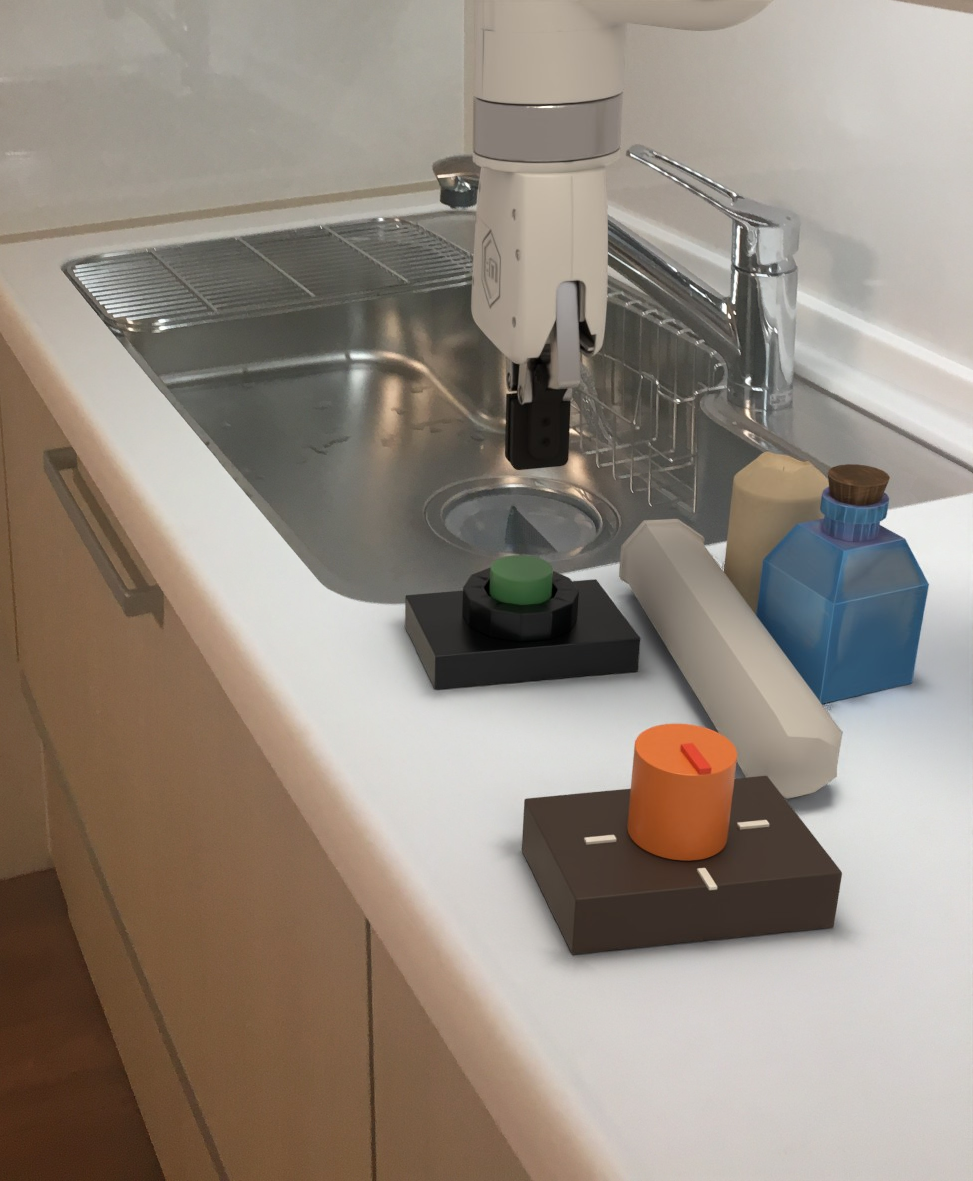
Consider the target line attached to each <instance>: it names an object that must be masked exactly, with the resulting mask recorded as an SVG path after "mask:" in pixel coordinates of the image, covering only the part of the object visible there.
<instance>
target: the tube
mask: <svg viewBox="0 0 973 1181" xmlns="http://www.w3.org/2000/svg"><path fill="white" fill-rule="evenodd" d="M619 556H620V557H619V558H620V559H619V569H618V570H619V571H618V577H619V579H620V580H621V581H622V582H624V583H625V584H627V585H628V586H629V588H630V590H631V591H632V592H633V594H634V596H635V597H636V599H637V601H638V602H639V604H640V606H641V607H642V609H643V610H644V612H645V614H646V615H647V618H648V619H649V620H650V623H651V624H652V626H653V627H654V629H655V630H656V633H657V634H658V635H659V637H660V638H661V640H662V642H663V643H664V646H666V649H667V650H668V652H669V654H670V655H671V656H672V658H673V660H674V661H675V663H676V665H677V667H678V668H679V670H680V671H681V674H682V675H683V676H684V679H685V680H686V681H687V683H688V684H689V686H690V689H691V690H692V691H693V693H694V694H695V696H696V697H697V699H698V701H699V703H700V704H701V706H702V708H703V709H704V711H705V712H706V714H707V716H708V717H709V719H710V720H711V722H712V724H713V725H714V727H715V728H716V730H717V732H718V733H719V734H721V735H723V736H725V737H726V738H727V739H729V740H730V741H731V742H732V743H733V745H734V746H735V748H736V750H737V763H736V764H737V765H738V766H739V768H740V770H741V772H742V773H743V775H744V776H745V778H746V777H757V776H768V778H769V779H770V780H771V781H772V783H773V784H774V785H775V787H776V788H777V789H778V790H779V792H780V793H781V794H782V796H783V797H784V798H785V799H792V798H797V797H801V796H807V795H810V794H814V793H815V792H817V791H819V790H820V789H822V787H824V786H825V785H827V784H829V783H830V782H832V780H834V779H836V778H837V776H838V763H839V757H840V752H841V744H842V738H843V733H844V732H843V730H842V729H841V728H840V726H839V725H838V724H837V723H836V721H835V720H834V718H833V717H832V715H830V713H829V712H828V710H827V708H825V706H824V705H823V704H821V702H820V701H819V700H818V698H817V697H816V696H815V694H814V693H813V692H812V690H811V689H810V688H809V686H808V685H807V683H806V682H805V681H804V679H803V678H802V677H801V675H800V674H799V673H798V671H797V670H796V669H795V667H794V666H793V665H792V663H791V662H790V661H789V659H788V658H787V657H786V655H785V654H784V652H783V651H782V650H781V648H780V647H779V646H778V644H777V643H776V642H775V640H774V639H773V638H772V636H771V635H770V634H769V632H768V631H767V630H766V628H765V627H764V625H763V624H762V623H761V621H760V620H759V619H758V617H757V616H756V615H755V613H754V612H753V611H752V609H751V608H750V607H749V605H748V604H747V603H746V601H745V600H744V598H743V597H742V596H741V594H740V593H739V592H738V590H737V589H736V588H735V586H734V585H733V584H732V582H731V581H730V580H729V578H728V577H727V576H726V574H725V573H724V569H723V568H721V565H720V564H719V563H718V562H717V561H716V560H715V558H714V557H713V555H712V554H711V552H710V551H709V550H708V548H707V547H706V546H705V537H704V536H703V535H702V534H700V533H699V532H698V531H696V530H695V529H694V528H692V527H691V526H689V525H688V524H686V523H684V522H683V521H682V520H680V519H678V518H668V519H667V518H665V519H644V520H642V522H641V523H640V524H639V525H638V527H636V529H635V530H634V531H633V532H632V533H631V534H630V535H629V537H627V539H626V540H625V541H624V542H623V544H622V545H621V546H620V555H619Z"/></svg>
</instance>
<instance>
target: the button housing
mask: <svg viewBox="0 0 973 1181" xmlns="http://www.w3.org/2000/svg"><path fill="white" fill-rule="evenodd" d="M489 590H490V567H488V568H485V569H483V570H480V571H478V572H474V573H473V574H471V575H470V576H469V577H468V579H467V581H466V582H465V584H464V585H463V587H462V590H452V591H441V592H439V591H438V592H429V593H416V594H406V595H405V597H404V598H405V600H404V602H405V604H404V605H405V606H404V628H405V629H406V632H407V633H408V635H409V638H410V640H411V642H412V644H413V646H414V648H415V650H416V652H417V654H418V657H419V658H420V661H421V662H422V665H423V667H424V670H425V672H426V673H427V675H428V677H429V680H430V682H431V684H432V687H433V689H434V690H442V689H452V688H466V687H477V686H486V685H497V684H499V685H500V684H510V683H520V682H531V681H542V680H554V679H564V678H576V677H586V676H587V677H588V676H599V675H610V674H623V673H632V672H638V671H639V661H640V660H639V659H640V649H641V637H640V635H639V634H638V633H637V631H636V630H635V629H634V627H633V626H632V625H631V624H630V622H629V621H628V620H627V618H626V617H625V616H624V614H623V613H622V611H621V610H620V609H619V608H618V606H617V605H616V603H615V602H614V601H613V600H612V598H611V597H610V596H609V595H608V593H607V592H606V590H605V589H604V587H603V586H602V585H601V584H600V582H599V581H598V580H597V579H595V578H594V579H583V580H572V579H571V578H570V577H569V576H566V575H564V574H561V573H559V572H557V571H556V570H553V580H552V596H551V598H550V599H549V600H547V601H545V602H542V603H539V604H527V605H518V604H512V603H505V602H501V601H499V600H496V599H494V598H492V597H491V596H490V593H489Z"/></svg>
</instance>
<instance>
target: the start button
mask: <svg viewBox="0 0 973 1181" xmlns="http://www.w3.org/2000/svg"><path fill="white" fill-rule="evenodd" d="M489 568H490V590H489V593H490V596H491V597H492V598H494V599H496V600H499V601H501V602H505V603H512V604H518V605H527V604H539V603H542V602H545V601H547V600H549V599H550V598H551V596H552V580H553V571H554V567H553V565H552V564H551V563H550V562H548V561H547V560H545V559H543V558H540V557H537V556H532V555H525V554H524V555H523V554H514V555H506V556H502V557H499V558H497V559H495V560H493V562H492V563H491V564H490V567H489Z"/></svg>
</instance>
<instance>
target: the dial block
mask: <svg viewBox="0 0 973 1181" xmlns="http://www.w3.org/2000/svg"><path fill="white" fill-rule="evenodd" d="M630 792H631V788H621V789H612V790H611V789H610V790H601V791H590V792H581V793H580V792H579V793H570V794H560V795H559V794H558V795H548V796H540V797H539V796H538V797H528V798H524V800H523V815H522V816H523V817H522V818H523V819H522V834H521V835H522V837H521V838H522V839H521V851H522V853H523V856H524V857H525V858H524V859H525V860H526V862H527V865H529V868H530V870H531V872H532V875H533V876H534V878H535V880H536V883H537V884H538V886H539V889H540V891H541V893H542V895H543V897H544V899H545V901H546V903H547V905H548V907H549V909H550V911H551V913H552V915H553V917H554V920H555V922H556V924H557V926H558V928H559V931H560V932H561V935H562V936H563V939H564V940H565V942H566V944H567V946H568V949H569V951H570V953H571V954H572V955H579V954H587V953H597V952H607V951H617V950H627V949H637V948H645V947H655V946H665V945H674V944H685V943H693V942H704V941H713V940H723V939H732V938H741V937H751V936H760V935H769V934H779V933H788V932H797V931H798V932H799V931H808V930H818V929H827V928H834V926H835V920H836V915H837V908H838V902H839V896H840V890H841V883H842V879H843V878H842V877H843V871H842V870H841V869H840V867H839V866H838V865H837V864H836V862H835V861H834V860H833V859H832V857H831V856H830V854H829V853H828V852H827V851H826V849H825V848H824V847H823V846H822V845H821V843H820V842H819V841H818V840H817V838H816V837H815V835H814V834H813V833H812V832H811V830H810V829H809V828H808V826H807V825H806V824H805V823H804V821H803V820H802V818H800V816H799V815H798V814H797V812H796V811H795V810H794V809H793V807H792V806H791V804H790V803H789V802H788V801H787V800H786V799H787V798H784V797H783V796H782V794H781V793H780V792H779V790H778V789H777V788H776V787H775V785H774V784H773V783H772V781H771V780H770V779H769V778H768V776H757V777H746V776H745V777H738V778H737V777H735V779H734V788H733V796H732V804H731V812H730V821H729V829H728V837H727V843H726V845H725V846H724V848H723V849H722V850H721V851H720V852H719V853H717V854H715V855H713V856H711V857H708V858H705V859H700V860H692V861H681V860H673V859H667V858H663V857H660V856H657V855H654V854H652V853H649V852H647V851H646V850H644V849H642V848H641V847H639V846H638V845H637V844H636V843H635V842H634V841H633V840H632V839H631V837H630V835H629V833H628V827H627V826H628V815H629V803H630Z"/></svg>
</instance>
